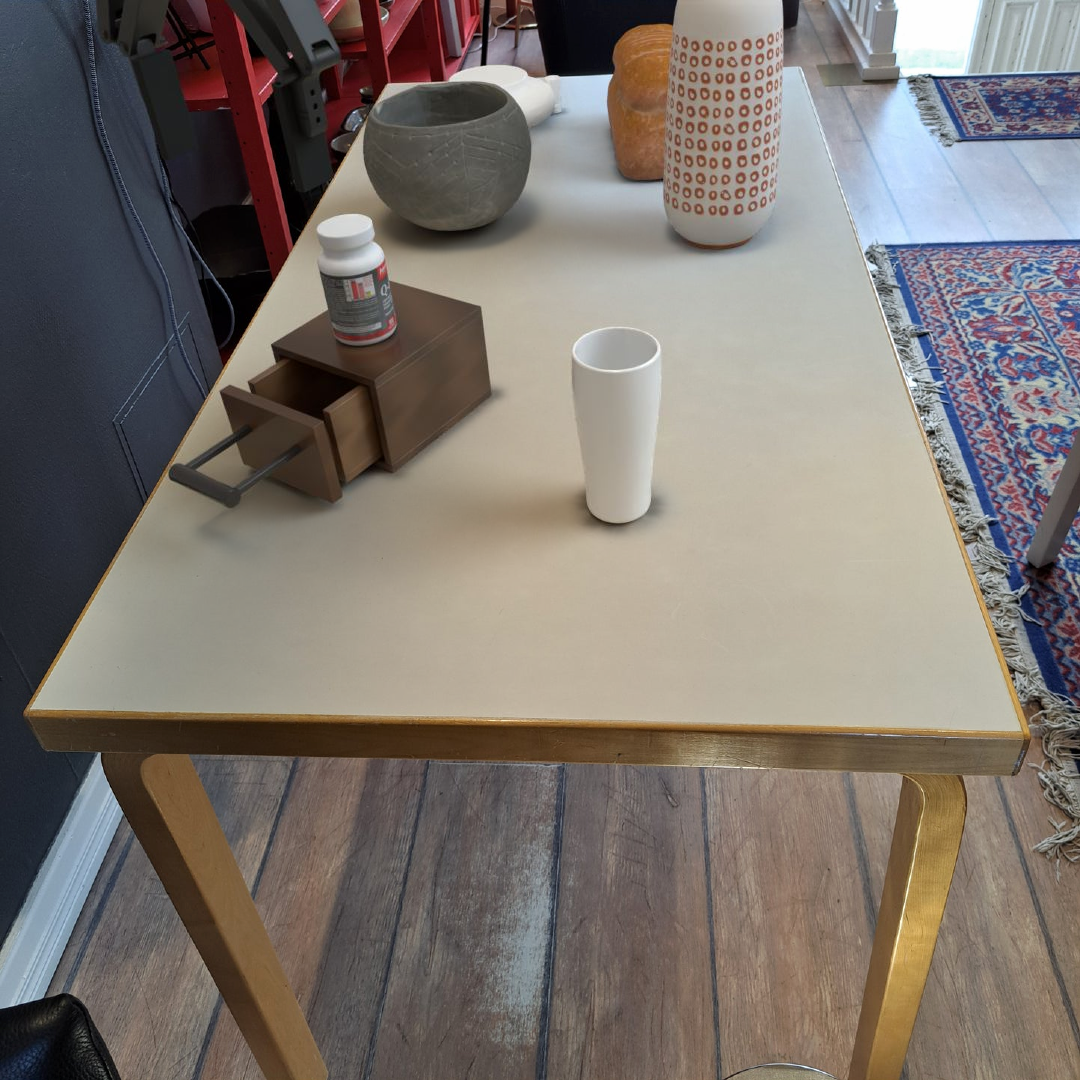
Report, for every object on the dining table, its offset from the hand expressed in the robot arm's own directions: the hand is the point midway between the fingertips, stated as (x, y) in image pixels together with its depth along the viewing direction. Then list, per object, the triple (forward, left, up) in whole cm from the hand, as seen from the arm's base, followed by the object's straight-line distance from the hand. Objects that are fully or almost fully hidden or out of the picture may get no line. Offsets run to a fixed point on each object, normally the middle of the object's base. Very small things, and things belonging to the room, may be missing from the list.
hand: (245, 168), depth 67 cm
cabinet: (+6, +12, -29) cm, 32 cm away
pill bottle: (+5, +11, -19) cm, 23 cm away
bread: (+47, +73, -29) cm, 92 cm away
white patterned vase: (+47, +42, -29) cm, 69 cm away
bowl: (+16, +56, -29) cm, 65 cm away
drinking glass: (+24, -7, -29) cm, 38 cm away
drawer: (-2, +4, -28) cm, 28 cm away
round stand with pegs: (+25, +93, -29) cm, 101 cm away
